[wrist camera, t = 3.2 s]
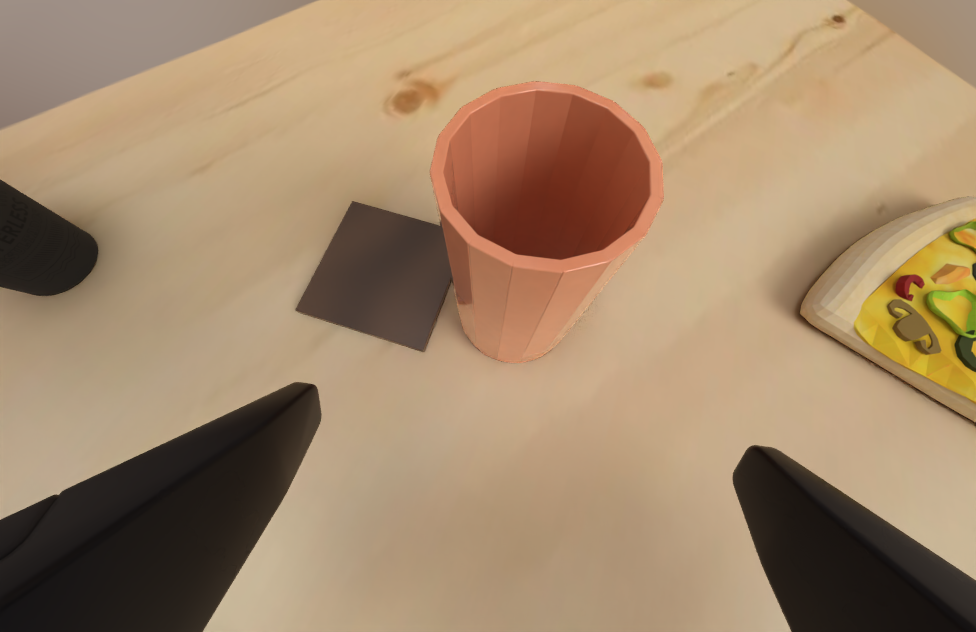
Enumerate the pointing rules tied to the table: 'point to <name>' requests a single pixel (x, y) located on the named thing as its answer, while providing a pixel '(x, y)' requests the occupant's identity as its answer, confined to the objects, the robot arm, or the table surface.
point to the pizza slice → (909, 301)
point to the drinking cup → (40, 247)
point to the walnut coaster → (381, 277)
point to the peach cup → (539, 209)
